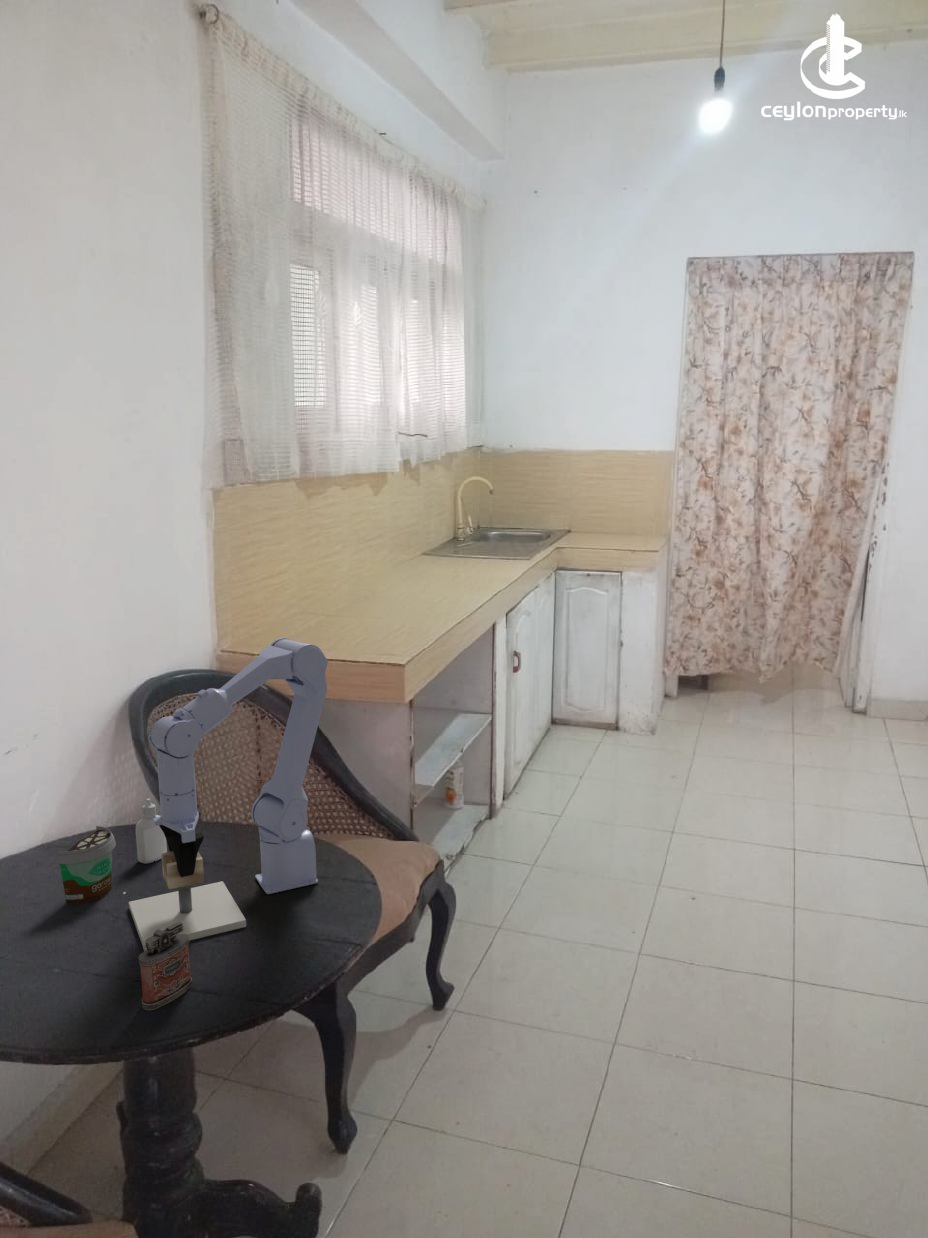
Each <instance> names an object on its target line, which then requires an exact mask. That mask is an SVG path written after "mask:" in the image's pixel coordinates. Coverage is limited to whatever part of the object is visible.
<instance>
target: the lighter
mask: <svg viewBox="0 0 928 1238" xmlns="http://www.w3.org/2000/svg"><path fill="white" fill-rule="evenodd" d="M182 931H183V924H182V923H181V922H176V923H174V924H172V925H171V926H169V927H167V928H166V929H165V930H163V931H162V930H160V929H158V930H156V931H155V932H154V934H153V936H152V937H150V938H148V939H146V940H145V944H146V948H147V950H146V951H144V950H143V952H141V953H140V954H139V955H138V956H137V958H138V964H139V965H140V977H141V988H142V999H141V1007H142V1008H143V1010H145V1011H153V1010H154V1011H155V1010H156V1009H159V1008H161V1007H163V1006H165V1005H167V1004H169V1003H170V1002H173V1001H174V1000H175V999H177V998H179V997H180V996H182V995H183V994H185V993H186V992H187V991H188V990H189V989H190V988H192V986H193V978H192V976H191V968H190V967H191V966H190V953H189V950H190V949H189V944H190V941H189V936H188V935H186V934H179V933H181V932H182Z"/></svg>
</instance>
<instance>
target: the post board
mask: <svg viewBox="0 0 928 1238" xmlns="http://www.w3.org/2000/svg"><path fill="white" fill-rule="evenodd" d="M128 908H129V911H130V915H131V918H132V920H133V922H134V926H135V929H136V932H137V934H138V937H139V939H140V943H141V945H142V949H143V952H144V951H146V950H147V948H146V944H145V940H146V939H148V938H150V937H152V936H153V934H154V932H155V931H156V930H158V929H160V930H162V931H163V930H165V929H166V928H167V927H169V926H171V925H172V924H174V923H176V922H181V923H182V924H183V931H182V932H181V933H179V934H186V935H188V936H189V942H190V941H193V940H197V939H202V938H205V937H210V936H214V935H217V934H218V935H219V934H223V933H226V932H229V931H230V932H231V931H234V930H238V929H242V928H246V927H247V919H246V918H245V916H244V914H243V912H242V911H241V909H240V907H239V906H238V904H237V902H236V901H235V898H233V896H232V894H231V892H230V891H229V890H228V887H227V886H226V884H225V883H224V881H218V882H213V883H208V884H205V885H199V886H195V887H191V885H187V886H183V887H178V889H177V891H171V892H167V893H163V894H158V895H154V896H149V897H145V898H141V899H136V900H135V899H134V900H131V901H128Z"/></svg>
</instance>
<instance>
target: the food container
mask: <svg viewBox="0 0 928 1238" xmlns="http://www.w3.org/2000/svg"><path fill="white" fill-rule="evenodd" d="M95 829H96V830H95V831H94V832H93V833H92V834H90V835H89V836H87V837H85V838H82V839H80V840H78V841H77V842H75V844H74V845H73V846H71V847H70V848H69V849H68V850H67V851H66V850H65V851H63V850H62V851H60V850H58V851H57V857H56V864H57V865H59V867H60V873H61V879H62V884H63V885H62V886H63V890H64V891H63V892H64V897H65V903H66V904H73V905H74V904H83V903H87V902H92V901H95V900H99V899H101V898H102V897H104V896H107V894H109V893H110V891H112V888H113V887H112V886H113V884H112V883H113V878H112V877H113V850H114V849H115V848H116V846H117V843H116V839H115V836H114V834H113V833H112V831H111V829H110V828H108V827H105V826H101V825H96V828H95Z"/></svg>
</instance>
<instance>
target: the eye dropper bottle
mask: <svg viewBox="0 0 928 1238" xmlns="http://www.w3.org/2000/svg"><path fill="white" fill-rule="evenodd" d="M141 809H142V818H141V819H140V820H138V822H137V823H136V825H135V837H136V838H135V843H136V855H137V862H138V863H141V864H145V865H147V864H151V863H154V861H155V862H157V861H160V860H162V856H161V853H166V852H168V844H167V840H166V837H165V835H164V833H163V831H162V829H161V828H160V827H159V825H155V824H154V818H156V817H160V816H161V815H159V814H157V807H156V804H154V803H152V800H151V798H146V800H145V804H144V805H142V808H141Z"/></svg>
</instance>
